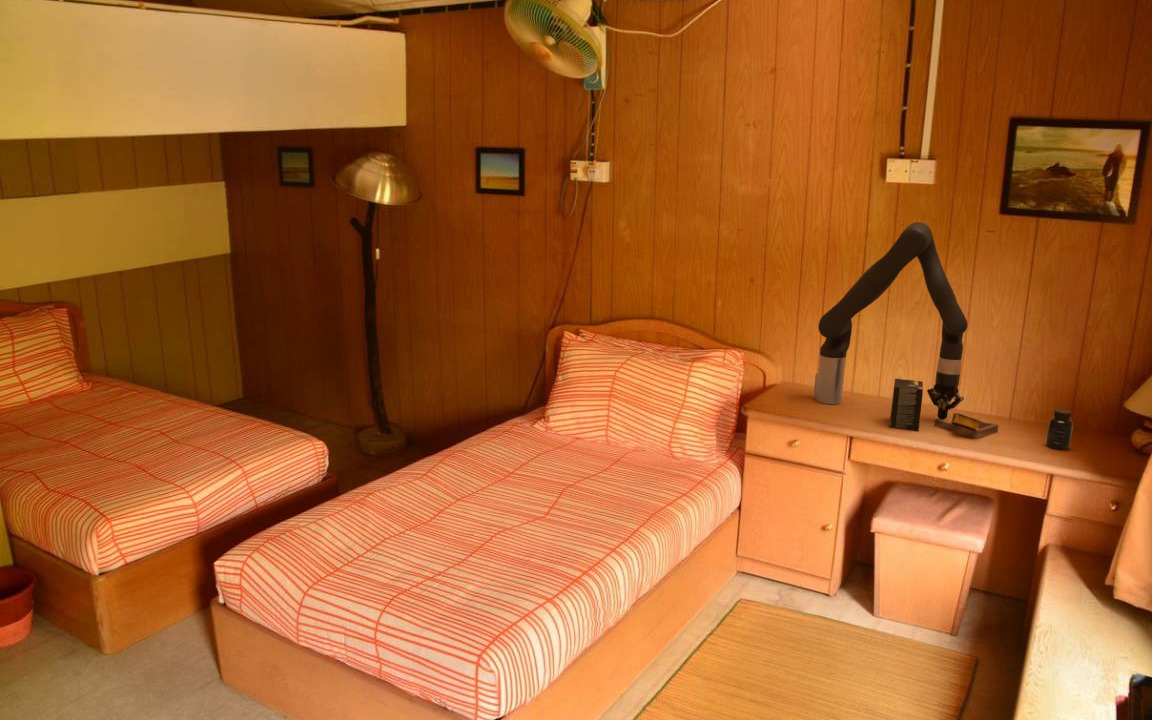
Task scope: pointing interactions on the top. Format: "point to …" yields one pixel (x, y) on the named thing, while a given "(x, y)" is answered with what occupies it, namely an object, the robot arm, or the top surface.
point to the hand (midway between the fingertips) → (941, 419)
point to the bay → (984, 431)
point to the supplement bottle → (1060, 430)
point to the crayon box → (965, 421)
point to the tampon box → (906, 404)
